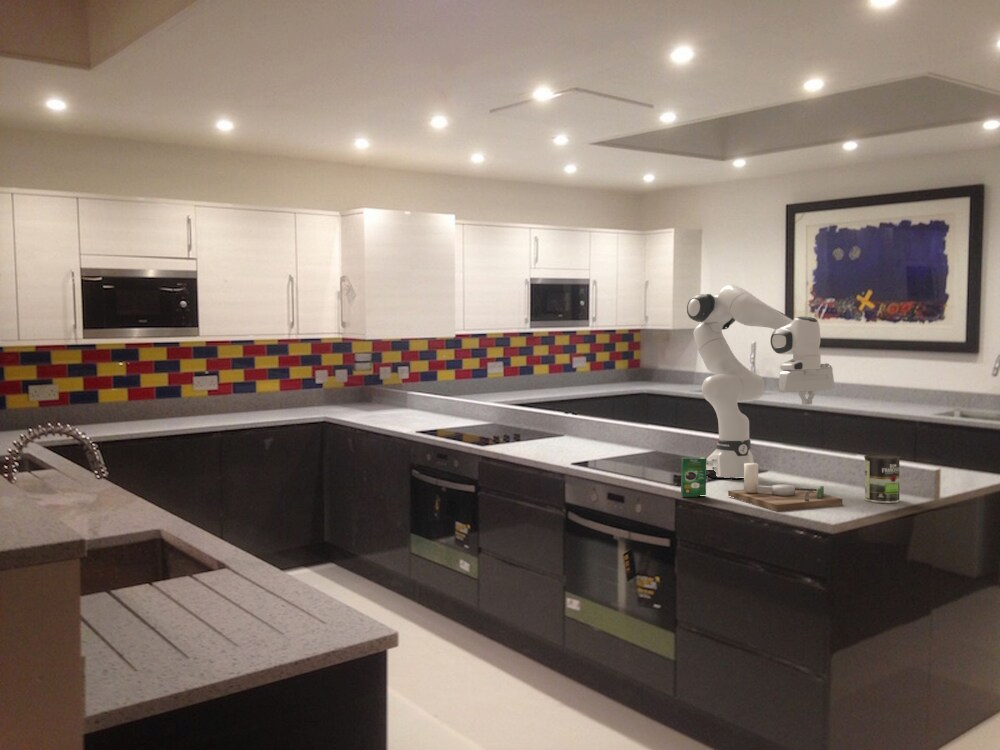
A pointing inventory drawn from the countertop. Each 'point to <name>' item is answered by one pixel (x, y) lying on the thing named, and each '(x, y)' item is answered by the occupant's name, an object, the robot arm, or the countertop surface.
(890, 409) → the countertop surface
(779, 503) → the board
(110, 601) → the countertop surface
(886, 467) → the coffee can
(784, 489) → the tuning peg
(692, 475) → the coffee box
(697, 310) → the robot arm
